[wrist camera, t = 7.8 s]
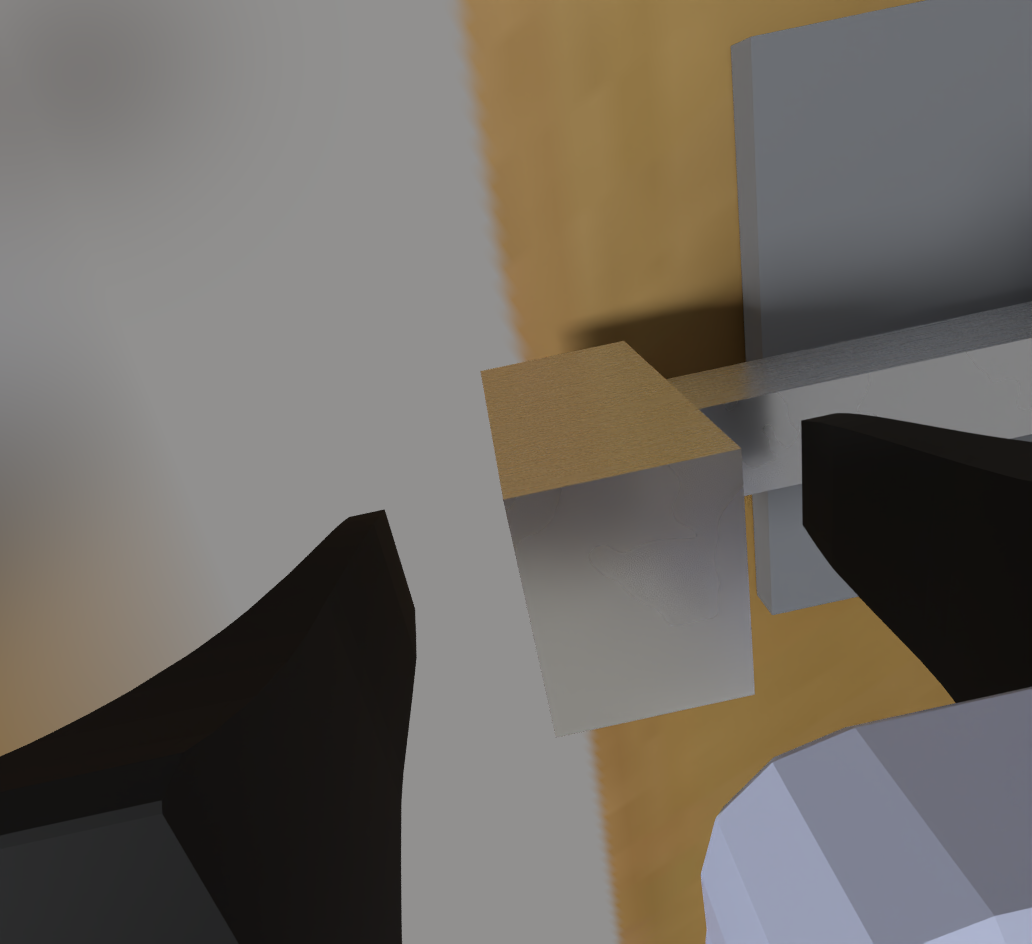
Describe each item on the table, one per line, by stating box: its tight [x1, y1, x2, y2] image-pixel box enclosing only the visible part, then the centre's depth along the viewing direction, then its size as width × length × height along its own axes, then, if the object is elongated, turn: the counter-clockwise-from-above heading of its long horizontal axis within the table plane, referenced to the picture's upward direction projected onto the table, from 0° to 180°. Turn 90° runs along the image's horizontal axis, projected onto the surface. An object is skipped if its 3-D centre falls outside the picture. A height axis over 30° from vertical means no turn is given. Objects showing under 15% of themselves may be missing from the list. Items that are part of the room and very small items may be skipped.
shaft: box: [481, 301, 1032, 737], centre depth 12 cm, size 4×13×6 cm, turn 101°
